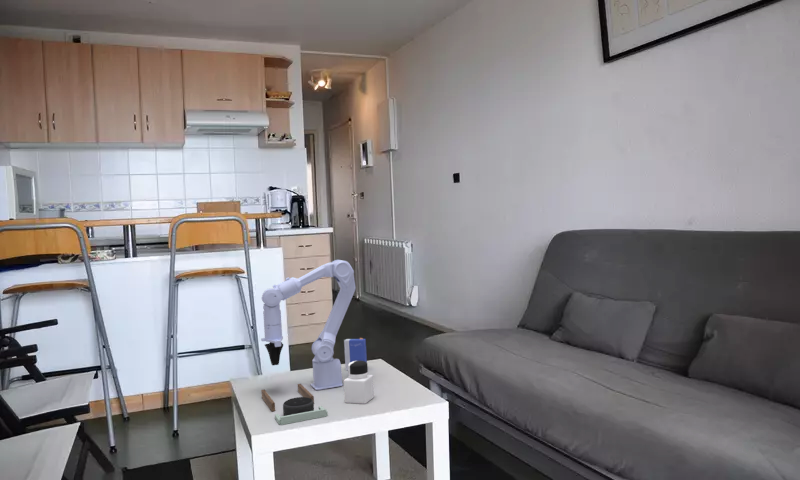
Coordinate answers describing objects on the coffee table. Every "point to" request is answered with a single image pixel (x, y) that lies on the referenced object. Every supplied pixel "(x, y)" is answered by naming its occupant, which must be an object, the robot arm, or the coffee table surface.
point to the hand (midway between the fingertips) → (275, 364)
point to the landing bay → (301, 416)
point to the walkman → (355, 350)
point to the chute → (271, 403)
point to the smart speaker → (298, 405)
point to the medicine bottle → (358, 383)
